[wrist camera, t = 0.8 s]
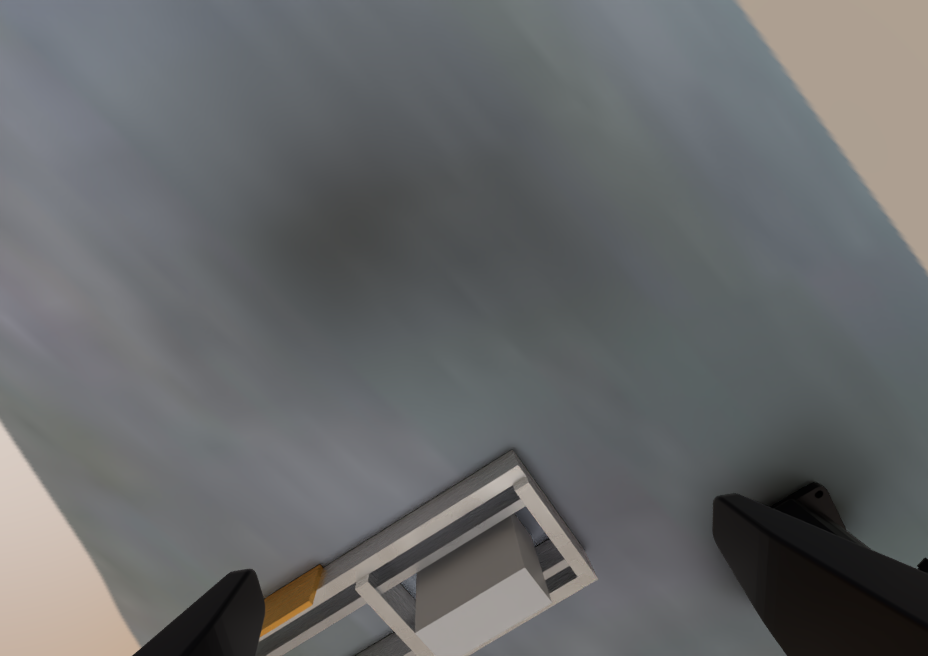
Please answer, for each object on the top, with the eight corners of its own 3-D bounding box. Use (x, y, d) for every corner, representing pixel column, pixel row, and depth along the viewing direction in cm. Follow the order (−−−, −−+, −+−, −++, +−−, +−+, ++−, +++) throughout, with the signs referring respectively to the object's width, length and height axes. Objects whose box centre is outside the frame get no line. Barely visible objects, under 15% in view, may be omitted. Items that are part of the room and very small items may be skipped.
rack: (585, 551, 26) (600, 585, 23) (303, 719, 27) (291, 767, 25) (509, 445, 23) (518, 470, 21) (208, 633, 25) (185, 677, 23)
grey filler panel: (530, 535, 25) (552, 602, 21) (442, 588, 26) (445, 666, 21) (507, 504, 24) (524, 567, 20) (417, 559, 25) (414, 633, 21)
